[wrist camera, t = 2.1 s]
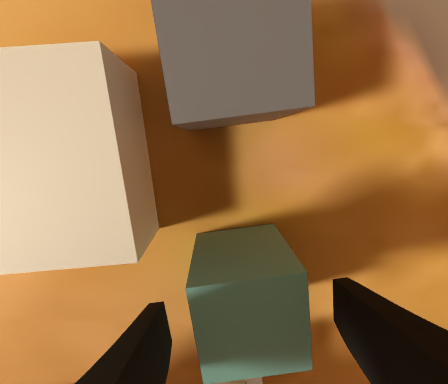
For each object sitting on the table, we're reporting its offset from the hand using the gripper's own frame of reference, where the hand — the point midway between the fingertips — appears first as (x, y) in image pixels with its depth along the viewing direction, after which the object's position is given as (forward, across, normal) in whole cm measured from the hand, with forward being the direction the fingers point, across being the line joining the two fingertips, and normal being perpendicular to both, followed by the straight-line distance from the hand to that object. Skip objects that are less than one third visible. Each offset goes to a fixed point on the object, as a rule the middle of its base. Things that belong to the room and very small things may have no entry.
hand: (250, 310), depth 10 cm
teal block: (+4, 0, 0) cm, 4 cm away
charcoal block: (+4, 0, -10) cm, 11 cm away
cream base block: (+4, +8, -7) cm, 11 cm away
